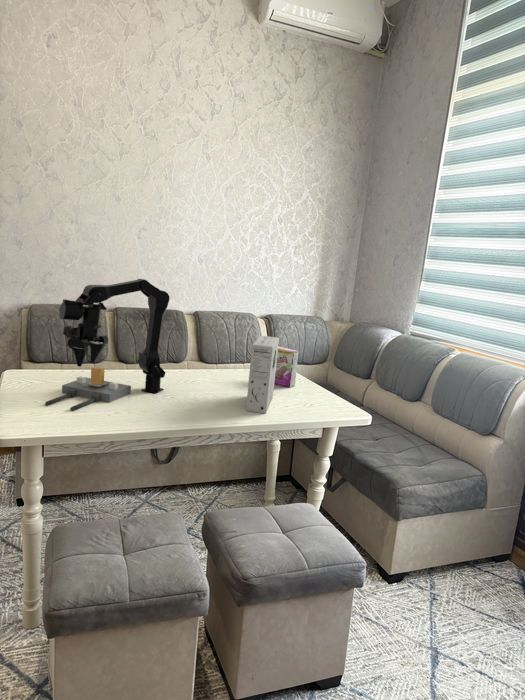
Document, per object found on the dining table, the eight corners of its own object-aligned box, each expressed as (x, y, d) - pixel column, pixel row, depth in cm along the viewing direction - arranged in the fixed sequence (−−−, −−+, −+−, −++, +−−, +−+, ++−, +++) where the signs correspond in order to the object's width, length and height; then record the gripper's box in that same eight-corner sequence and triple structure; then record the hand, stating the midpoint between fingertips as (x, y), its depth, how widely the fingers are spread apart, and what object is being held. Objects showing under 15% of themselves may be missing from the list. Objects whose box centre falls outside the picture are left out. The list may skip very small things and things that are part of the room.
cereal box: (254, 395, 207) (260, 335, 202) (272, 397, 206) (279, 337, 202) (245, 411, 186) (252, 344, 181) (266, 413, 185) (272, 346, 181)
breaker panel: (85, 384, 199) (85, 372, 198) (130, 393, 194) (131, 380, 193) (58, 394, 184) (58, 381, 183) (106, 404, 178) (107, 390, 177)
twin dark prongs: (73, 394, 185) (73, 391, 185) (100, 400, 182) (100, 396, 182) (43, 405, 171) (44, 401, 170) (72, 411, 168) (73, 407, 167)
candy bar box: (268, 382, 229) (272, 347, 226) (274, 381, 233) (277, 346, 230) (289, 388, 224) (293, 351, 220) (295, 386, 228) (299, 350, 225)
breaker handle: (95, 381, 192) (96, 365, 191) (107, 384, 191) (107, 367, 189) (87, 384, 187) (87, 368, 186) (99, 387, 186) (99, 370, 185)
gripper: (83, 316, 188) (78, 357, 191) (54, 318, 170) (50, 364, 172) (111, 321, 187) (106, 362, 189) (85, 324, 168) (80, 370, 171)
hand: (85, 364), depth 180 cm, fingers open, 9 cm apart
